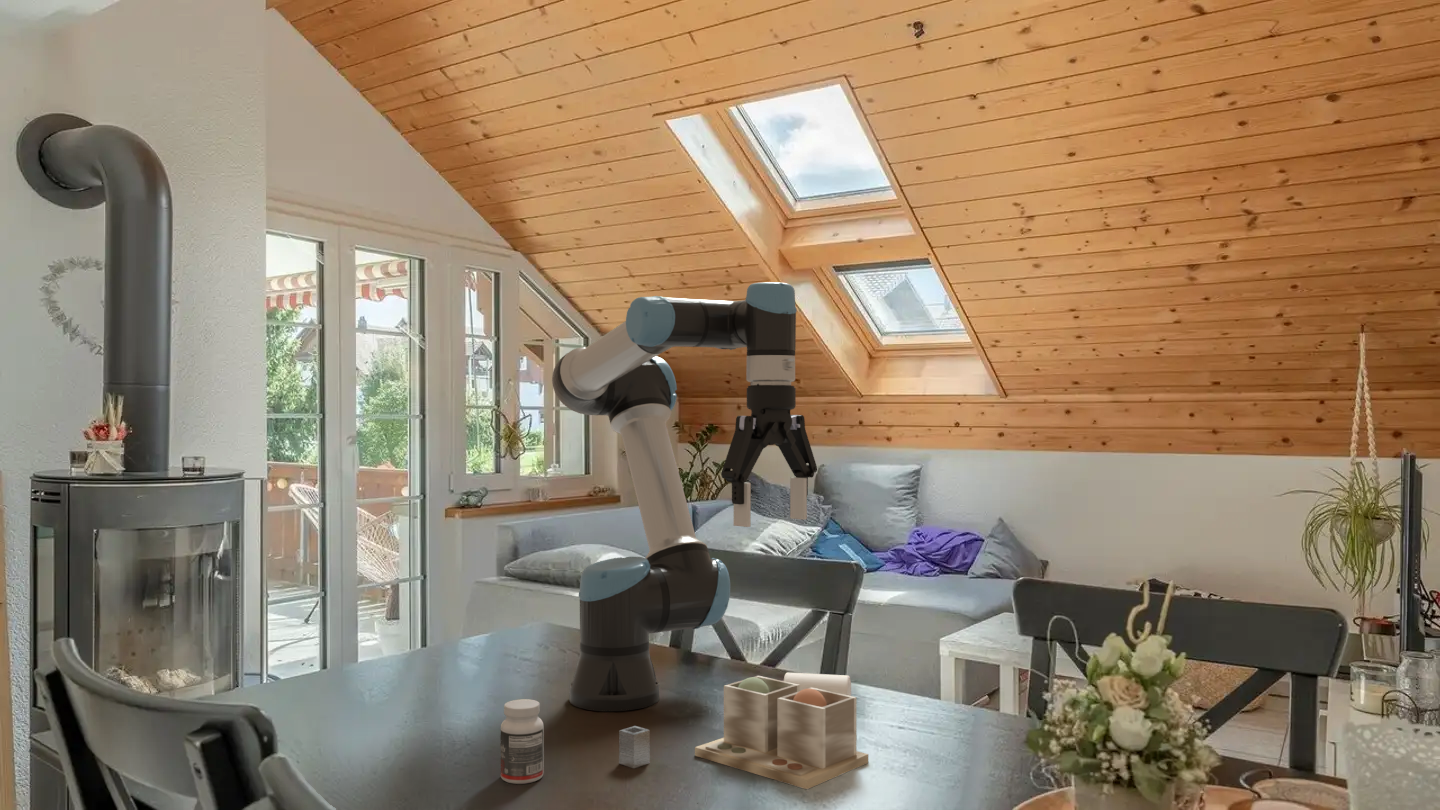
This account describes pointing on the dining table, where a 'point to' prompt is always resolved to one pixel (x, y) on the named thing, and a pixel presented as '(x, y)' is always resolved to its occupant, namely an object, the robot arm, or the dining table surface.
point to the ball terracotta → (810, 697)
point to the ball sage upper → (754, 685)
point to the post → (634, 746)
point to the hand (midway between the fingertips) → (771, 522)
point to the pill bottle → (522, 742)
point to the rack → (786, 734)
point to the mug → (821, 682)
